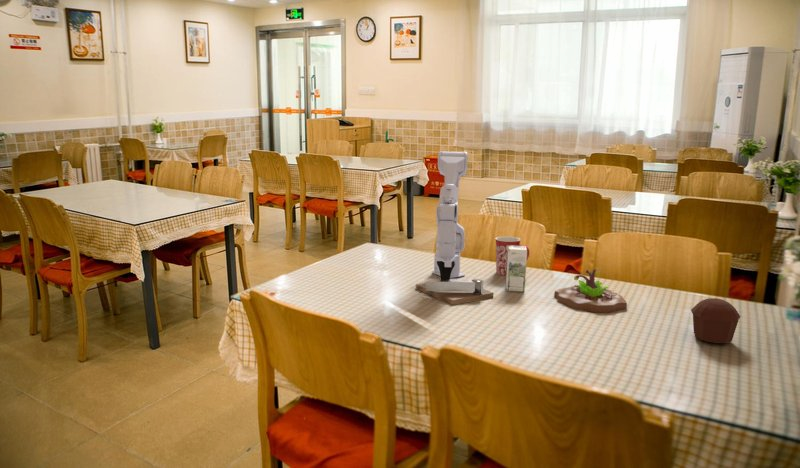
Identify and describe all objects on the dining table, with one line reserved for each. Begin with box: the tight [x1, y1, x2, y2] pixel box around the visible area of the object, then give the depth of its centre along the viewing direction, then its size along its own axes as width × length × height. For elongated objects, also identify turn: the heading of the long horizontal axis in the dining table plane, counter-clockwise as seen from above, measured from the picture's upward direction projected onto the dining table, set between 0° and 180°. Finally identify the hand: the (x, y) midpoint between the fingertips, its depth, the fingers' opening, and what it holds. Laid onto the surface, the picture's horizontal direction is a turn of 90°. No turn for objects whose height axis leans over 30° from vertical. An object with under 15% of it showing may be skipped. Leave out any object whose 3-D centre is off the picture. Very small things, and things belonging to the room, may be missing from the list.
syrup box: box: [505, 245, 528, 293], centre depth 191 cm, size 6×6×14 cm
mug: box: [495, 236, 530, 277], centre depth 208 cm, size 13×9×14 cm
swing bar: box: [425, 278, 484, 292], centre depth 182 cm, size 18×4×3 cm, turn 90°
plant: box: [553, 268, 628, 313], centre depth 180 cm, size 20×20×11 cm
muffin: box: [690, 297, 742, 344], centre depth 151 cm, size 12×11×10 cm
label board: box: [415, 277, 494, 306], centre depth 187 cm, size 20×16×2 cm
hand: (445, 283), depth 184 cm, fingers closed, pressing on swing bar
